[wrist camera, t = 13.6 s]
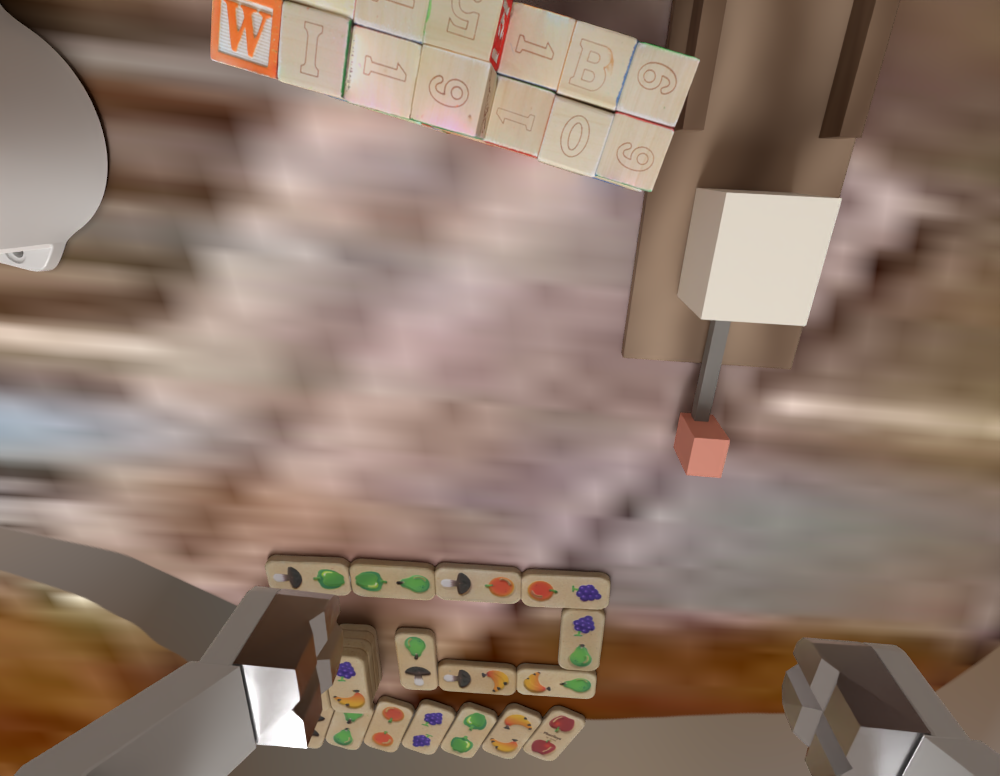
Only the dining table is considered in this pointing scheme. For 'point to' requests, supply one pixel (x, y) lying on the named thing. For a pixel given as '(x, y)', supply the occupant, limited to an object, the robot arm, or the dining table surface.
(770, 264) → the block
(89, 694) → the dining table surface
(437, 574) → the pile of dominoes
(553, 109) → the stack of blocks
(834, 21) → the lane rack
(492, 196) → the dining table surface
